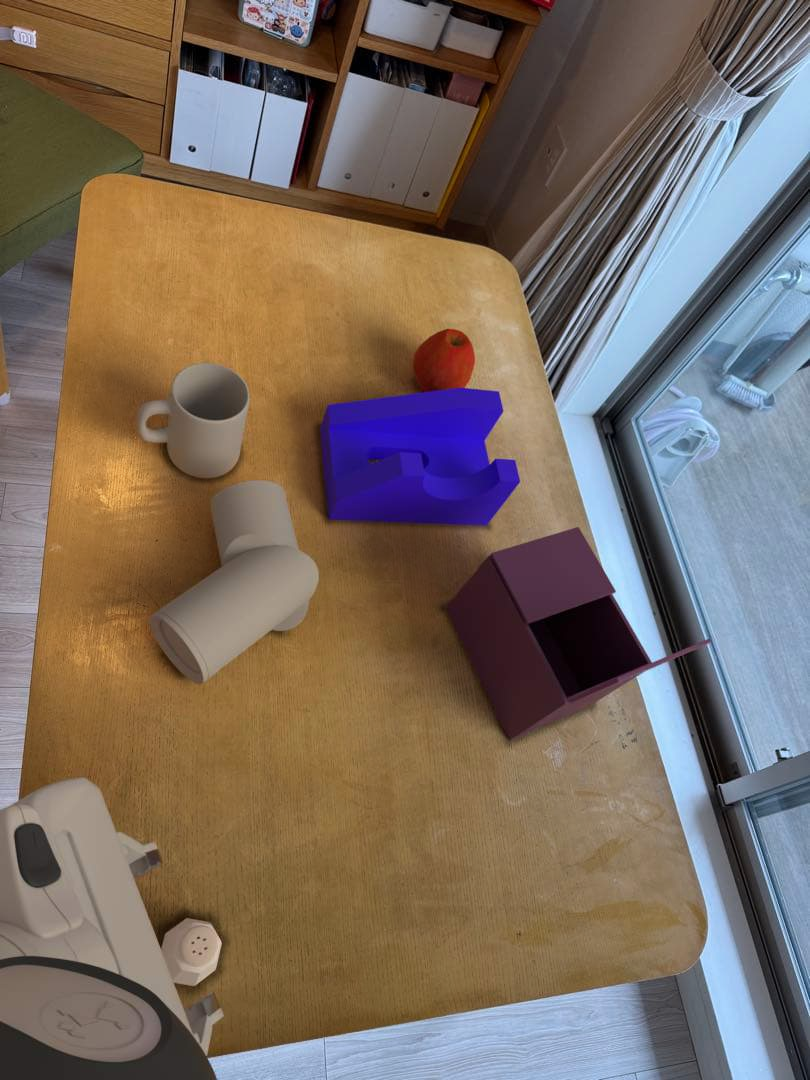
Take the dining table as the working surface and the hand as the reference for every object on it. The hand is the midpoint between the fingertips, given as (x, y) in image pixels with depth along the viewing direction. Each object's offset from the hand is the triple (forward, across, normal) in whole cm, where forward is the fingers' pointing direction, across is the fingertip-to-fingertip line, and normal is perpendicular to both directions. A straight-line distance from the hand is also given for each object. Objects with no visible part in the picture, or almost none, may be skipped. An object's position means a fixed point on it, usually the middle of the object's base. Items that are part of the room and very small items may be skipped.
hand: (179, 930), depth 48 cm
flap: (+32, +1, -34) cm, 46 cm away
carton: (+47, +9, -23) cm, 53 cm away
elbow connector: (+30, +28, 0) cm, 42 cm away
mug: (+33, +48, -3) cm, 58 cm away
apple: (+54, +48, -32) cm, 79 cm away
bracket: (+47, +36, -22) cm, 63 cm away
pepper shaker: (+20, -2, +13) cm, 24 cm away
